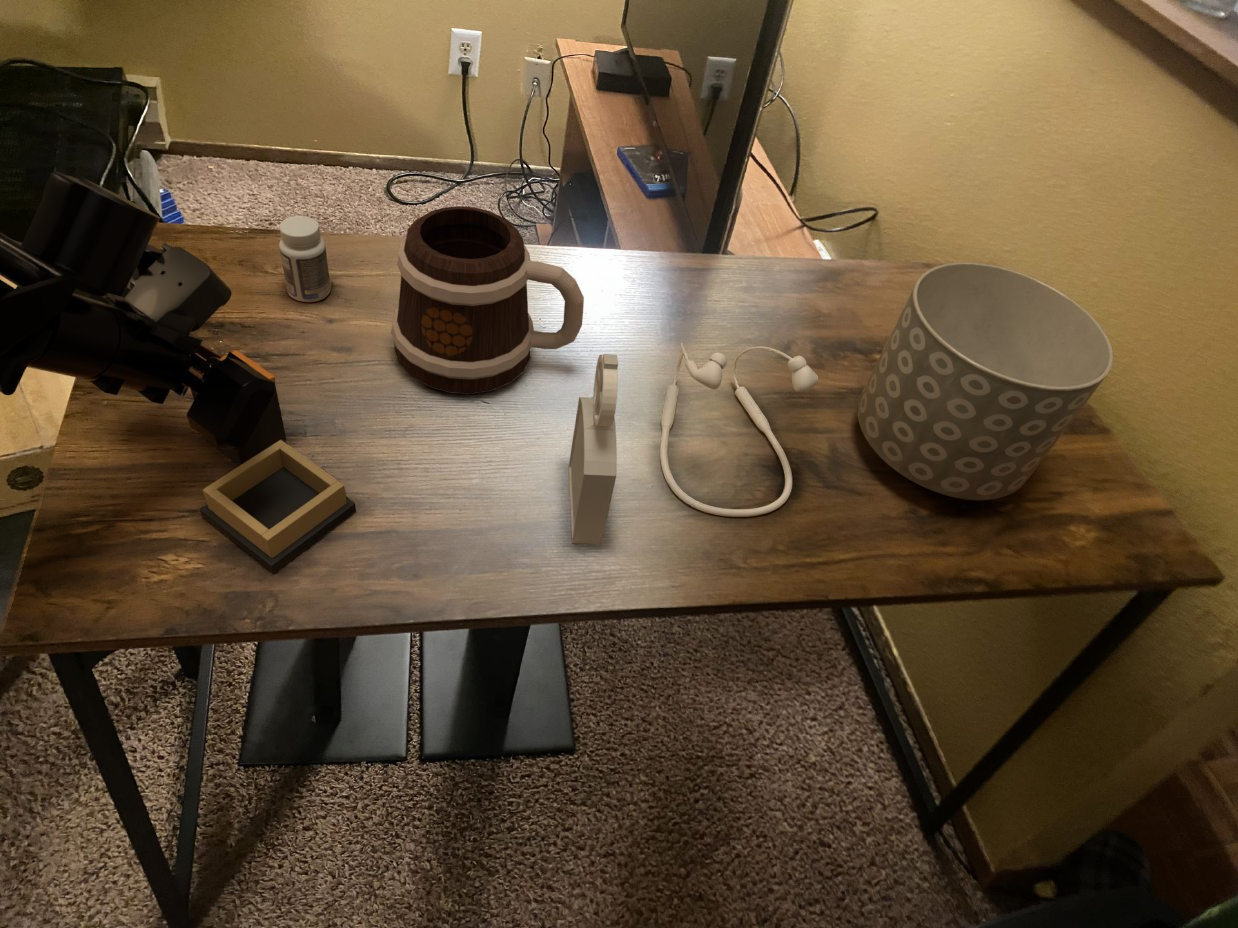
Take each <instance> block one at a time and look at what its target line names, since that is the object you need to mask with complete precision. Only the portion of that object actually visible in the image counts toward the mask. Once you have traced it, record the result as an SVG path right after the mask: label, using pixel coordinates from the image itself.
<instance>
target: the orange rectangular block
mask: <svg viewBox="0 0 1238 928" xmlns="http://www.w3.org/2000/svg"><path fill="white" fill-rule="evenodd" d="M230 352H231V353H233V354H234V355H236V356H237V357H239V358H240V359H241V360H243V361H244V362H246V363H247V364H249V365H250V366H251V367H253V368H254V369H255V370H257V371H258V372H260V373H261V374H263V375H264V376H266V377H267V378H268V379H270V380H271V381H273V382H274V386H275V393H274V395H273V397H272V399H271V401H270V403H269V404H268V406H267V408H266V410H265V412H264V413H263V415H262V417H261V419H260V421H259V423H258V424H257V426H256V428H255V430H254V432H253V433H252V435H251V437H250V439H249V441H248V442H247V444H246V446H245V448H243V449H240V450H237V451H236V450H229V449H222V448H218V447H217V446H215V445H214V444H213V443H211V442H210V441H209V440H207V439H206V438H205V441H206V442H207V443H208V444H210V445H211V446H212V447H214V448H215V449H217V450H218V452H220V453H222V454H223V455H224V456H225V457H227V458H229V460H231V461H232V462H234V463H235V464H236V465H237V466H238V467H239V466H240V465H242V464H244V463H245V462H247V461H248V460H250V459H251V458H253V457H254V456H256V455H258V454H259V453H261V452H262V451H264V450H265V449H267V448H269V447H270V446H272V445H273V444H275V443H276V442H278V441H279V440H282V441H283V442H285V441H286V440H287V435H286V430H285V426H284V425H285V424H284V420H283V416H282V411H281V405H280V401H279V395H278V391H277V390H278V389H277V386H276V377H275V375H273V374H272V373H270V372H269V371H268V370H266V369H265V368H263V366H260V365H259V364H257V363H256V362H254V361H253V360H251V358H249V357H247V356H246V355H244V354H243V353H242V352H240V351H238V350H237V349H235V350H233V351H230ZM227 355H228V353H227V354H225V355H224V356H221V357H222V358H220V360H224V359H225V358H226V357H227ZM199 372H200V371H199ZM202 374H203V373H202ZM203 375H204V374H203ZM189 389H190V391H191V395H192V396H191V397H192V398H193V401H194V400H195V398H196V396H197V393H196V392H195V391H194V390H192V389H191V388H190V387H189Z"/></svg>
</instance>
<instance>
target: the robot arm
mask: <svg viewBox="0 0 1238 928" xmlns="http://www.w3.org/2000/svg"><path fill="white" fill-rule="evenodd" d="M160 220H161V217H160V216H158V214H155V213H154V212H152V211H150V210H148V209H146V208H145V207H142V206H141V205H139V204H137V203H135V202H133V201H131V200H129V199H127V198H125V197H123V196H121V195H119V194H118V193H115V192H113V191H112V190H110V189H107V188H105V187H103V186H101V185H98V184H97V183H95V182H93V181H90V180H88V179H86V178H83V177H81V176H80V178H77V177H74V176H71V175H66V174H63V173H62V172H59V171H53V172H51V173H50V176H49V178H48V180H47V182H46V184H45V187H44V190H43V194H42V200H41V202H40V204H39V207H38V208H37V211H36V213H35V215H34V217H33V219H32V222H31V224H30V226H29V227H28V230H27V232H26V234H25V236H24V238H23V240H22V242H21V241H18V240H14V239H12V238H10V237H9V236H7V235H6V234H4V233H2V232H0V276H1V277H2V278H3V279H5V280H7V281H9V282H11V284H14V285H15V286H16V287H14V286H12V285H10V284H8V282H6V281H3V279H1V278H0V393H1V394H3V395H4V396H12V395H14V393H15V392H16V391H17V388H18V386H19V384H20V382H21V380H22V378H23V376H24V374H25V371H26V370H27V368H29V369H34V370H39V371H44V372H48V373H53V374H57V375H58V374H59V375H62V376H66V377H72V378H76V379H82V380H86V381H89V382H90V383H91V384H92V385H94V386H95V387H97V388H98V389H99V390H100V391H102V392H103V393H104V394H108V395H109V394H110V395H114V396H118V394H119V392H120V390H121V388H124V389H128V390H132V391H136V392H138V393H139V394H141V395H142V396H143V397H144V398H146V399H147V400H149V401H150V402H151V403H154V404H158V405H164V402H165V401H166V399H167V398H168V395H169V393H170V392H171V391H172V392H173V393H174V394H176V395H178V396H180V397H185V395H186V394H187V392H188V390H189V389H190V388H191V389H192V390H194V391H195V392H196V393H197V396H196V398H195V400H194V399H193V401H192V404H191V405H190V407H189V408H188V411H187V412H186V414H185V415H186V418H187V421H188V425H189V427H190V428H191V429H192V430H194V431H195V432H196V433H198V434H199V435H201V436H202V437H203V438H205V440H206V439H207V440H209V441H210V442H211V443H213V444H214V445H215V446H217V447H218V448H222V449H229V450H236V451H237V450H240V449H243V448H245V446H246V444H247V442H248V441H249V439H250V437H251V435H252V433H253V432H254V430H255V428H256V426H257V424H258V423H259V421H260V419H261V417H262V415H263V413H264V412H265V410H266V408H267V406H268V404H269V403H270V401H271V399H272V397H273V395H274V393H275V386H274V382H273V381H271V380H270V379H268V378H267V377H266V376H264V375H263V374H261V373H260V372H258V371H257V370H255V369H254V368H253V367H251V366H250V365H249V364H247V363H246V362H244V361H243V360H241V359H240V358H239V357H237V356H236V355H234V354H233V353H231V352H232V351H228V352H227V354H228V355H227V354H226V355H227V357H226V358H225V359H224V360H220V358H222V357H223V356H221V355H219V354H217V353H216V352H214V351H213V350H211V349H209V348H207V347H206V346H204V345H203V344H202V342H203V339H202V338H200V337H199V336H197V335H196V334H194V333H193V332H196V331H198V330H200V329H201V327H203V325H205V323H207V321H208V320H209V319H210V318H211V317H212V316H213V315H214V314H215V313H216V312H217V311H218V310H219V309H220V307H225V305H226V304H227V303H228V302H229V301H230V300H231V297H232V289H231V288H230V287H229V286H228V285H227V284H226V283H225V281H223V279H221V277H220V276H218V274H217V273H216V272H215V271H214V270H213V269H212V268H211V267H210V266H209V264H208V263H206V262H204V261H202V260H201V259H200V258H199V257H197V256H195V255H193V254H192V253H191V252H189V251H187V250H186V249H184V248H182V247H180V246H172V245H171V246H170V245H169V244H167V242H164V243H163V244H162V245H161V246H160V247H161V248H158V247H156V246H155V245H153V244H149V242H150V240H151V239H152V236H153V235H154V232H155V230H156V228H157V226H158V224H159V222H160ZM76 290H78V291H82V292H84V293H87V294H90V295H89V297H88V296H84V295H81V294H78V293H75V291H76ZM199 371H200V372H199ZM202 373H203V374H204V375H203V374H202ZM191 389H190V390H191Z"/></svg>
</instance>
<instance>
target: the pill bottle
mask: <svg viewBox="0 0 1238 928" xmlns="http://www.w3.org/2000/svg"><path fill="white" fill-rule="evenodd" d="M279 234H280V241H279V243H278V249H279V253H280V260H281V263H282V270H283V277H284V281H285V288H286V293H287V294H288V296H289V297H291V298H292V299H293V300H296V301H299V302H302V303H315V302H320V301H322V300H323V299H325V298H327V297H328V296H329V295H330V293H331V290H332V285H331V278H330V271H329V264H328V257H327V247H326V243H325V240H324V239H323V238H322V236H321V235H322V234H321V230H320V224H319V223H318V221H317V220H316V219H314V218H312V217H310V216H305V215H295V216H289V217H287V218H285V219H283V220H282V221H281V222H280V224H279Z"/></svg>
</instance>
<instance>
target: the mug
mask: <svg viewBox="0 0 1238 928" xmlns="http://www.w3.org/2000/svg"><path fill="white" fill-rule="evenodd" d="M411 223H412V224H411V225H410V226H409V227H408V228H407V232H406V236H405V237H404V238H403V239H402V240H401V242H400V244H399V251H398V255H397V256H398V257H397V263H396V265H397V267H398V270H399V273H400V285H399V286H400V287H399V297H398V306H397V307H396V309H395V310H394V314H393V317H392V318H393V319H392V324H391V331H390V334H391V336H392V339H393V342H394V346H393V351H394V354H395V357H396V360H397V362H398V364H399V366H401V368H402V369H403V370H404V371H405V372H406V373H407V374H408V375H409V376H410V377H411V378H413V379H415V380H417V381H418V382H420V383H421V384H423V385H425V386H427V387H429V388H432V389H435V390H438V391H441V392H447V393H450V394H466V395H473V394H479V393H486V392H491V391H493V390H496V389H499V388H501V387H504V386H506V385H508V384H511V383H513V382H514V380H516V379H517V378H518V377H519V376H520V375H521V374H523V373H524V372H525V370H526V368H527V367H528V365H529V363H530V361H531V350H532V348H533V349H539V350H540V349H541V350H558V349H560V348H562V347H564V346H567V345H569V344H572V343H574V342H575V341H576V339H577V336H578V334H579V333H580V331H581V328H582V326H583V320H584V319H583V318H584V304H585V303H584V302H585V296H584V295H583V293H582V290H581V288H580V287H579V284H578V281H577V280H576V278H574V277H573V276H572V274H570V273H569V272H568V271H566V269H564V268H563V267H562V266H559V265H558V266H557V265H554V264H551V263H545V262H542V261H535V260H531V255H530V252H529V250H528V248H527V247H526V244H525V243H524V238H523V236H522V234H521V232H520V231H519V229H518V228H517V227H515V226H514V224H512V223H510V222H509V221H508V220H507V219H506V218H504V217H503V216H501V215H499V214H496V213H494V212H492V211H490V210H487V209H483V208H479V207H473V206H464V205H463V206H462V205H459V206H458V205H456V206H444V207H441V208H437V209H434V210H430V211H429V212H427V213H426V214H424V215H422V216H420V217H419V218H417V219H415V220H414V221H413V222H411ZM528 281H532V282H537V283H541V284H547V285H548V284H549V285H551V286H553V288H555V289H556V290H557V291H559V293H560V295H561V297H562V298H563V301H564V308H563V322H562V325H561V328H560V329H558V330H557V331H555V332H551V331H550V332H549V331H548V332H546V331H538V330H535V328H534V322H533V319H532V317H531V315H530V313H529V302H528V300H529V299H528Z"/></svg>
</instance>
